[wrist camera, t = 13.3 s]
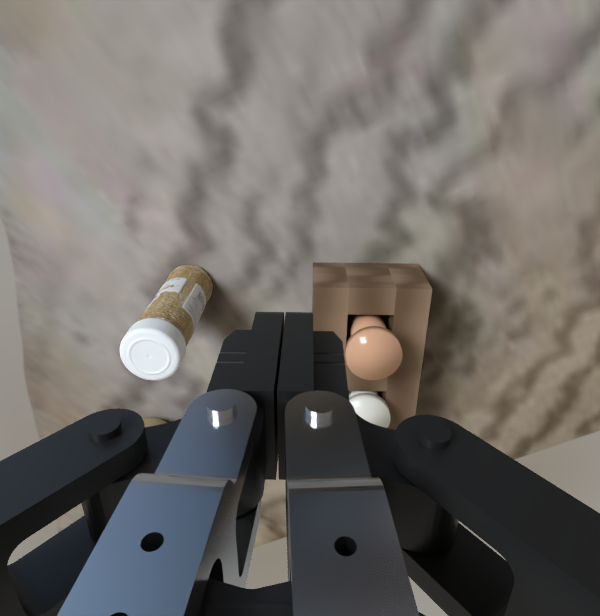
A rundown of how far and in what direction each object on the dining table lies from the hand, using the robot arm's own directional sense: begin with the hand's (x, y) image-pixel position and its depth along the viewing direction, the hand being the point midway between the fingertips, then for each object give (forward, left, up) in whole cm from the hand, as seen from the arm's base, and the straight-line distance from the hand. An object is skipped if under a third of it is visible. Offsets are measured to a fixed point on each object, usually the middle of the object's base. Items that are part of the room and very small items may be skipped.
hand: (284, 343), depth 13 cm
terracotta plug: (-6, +14, -29) cm, 33 cm away
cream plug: (-6, +22, -31) cm, 39 cm away
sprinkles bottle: (+11, +12, -32) cm, 36 cm away
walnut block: (-6, +22, -32) cm, 39 cm away
